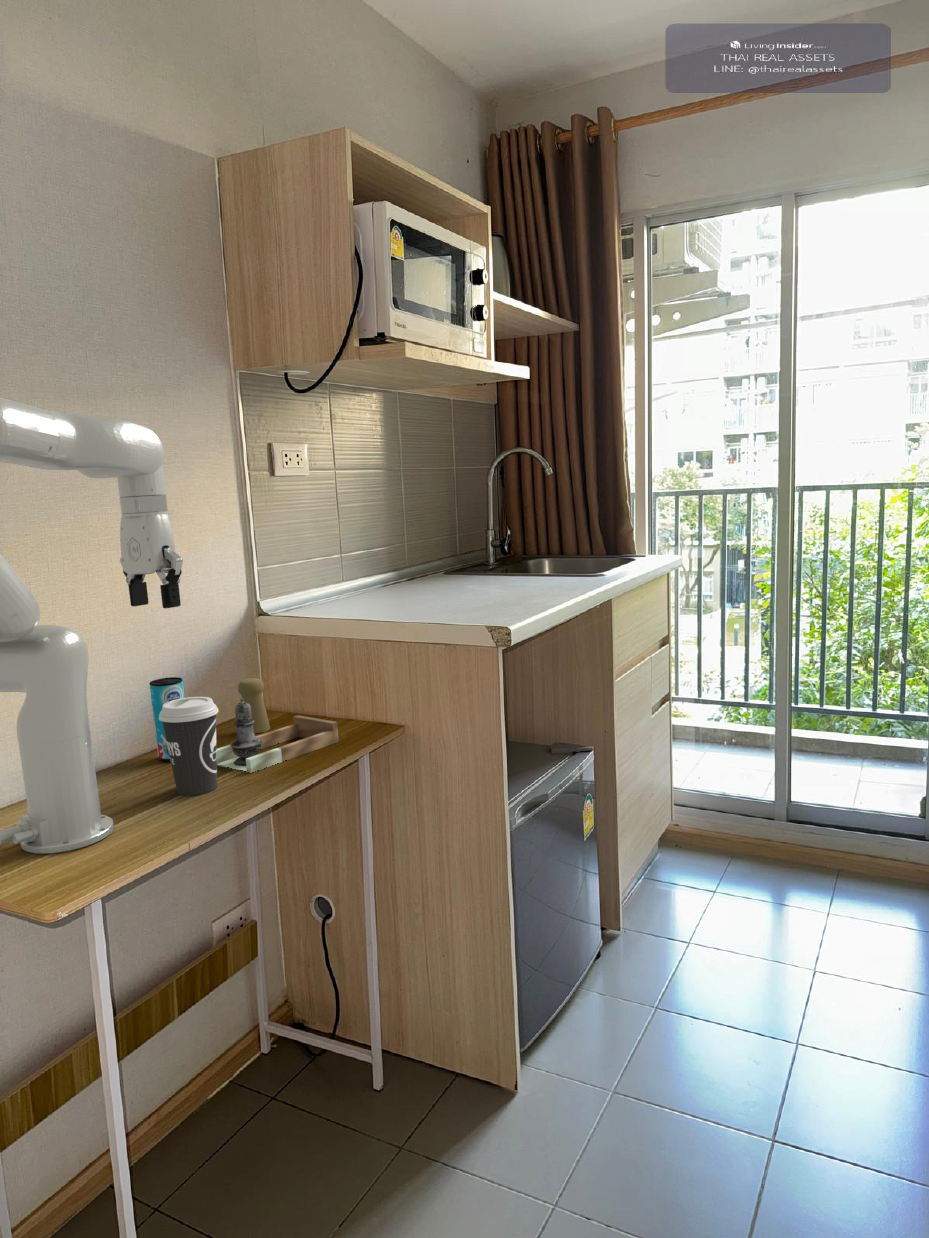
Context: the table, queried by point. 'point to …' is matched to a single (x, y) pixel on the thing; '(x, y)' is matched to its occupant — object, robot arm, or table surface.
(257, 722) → the cork
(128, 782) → the table surface
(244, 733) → the grey chess piece
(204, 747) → the coffee cup
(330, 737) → the bay
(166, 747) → the beverage can
